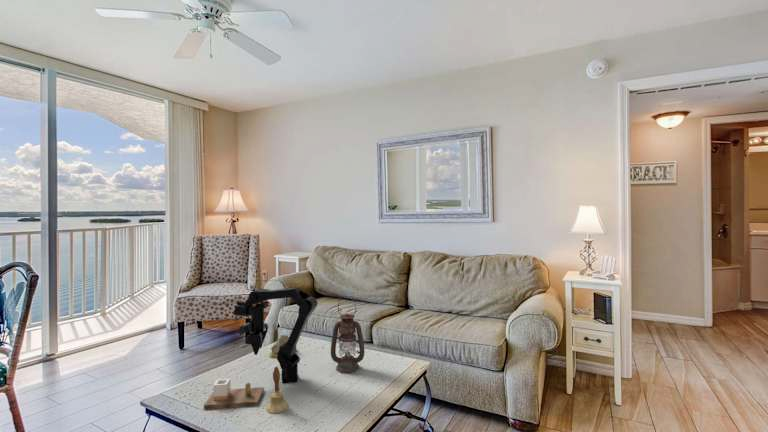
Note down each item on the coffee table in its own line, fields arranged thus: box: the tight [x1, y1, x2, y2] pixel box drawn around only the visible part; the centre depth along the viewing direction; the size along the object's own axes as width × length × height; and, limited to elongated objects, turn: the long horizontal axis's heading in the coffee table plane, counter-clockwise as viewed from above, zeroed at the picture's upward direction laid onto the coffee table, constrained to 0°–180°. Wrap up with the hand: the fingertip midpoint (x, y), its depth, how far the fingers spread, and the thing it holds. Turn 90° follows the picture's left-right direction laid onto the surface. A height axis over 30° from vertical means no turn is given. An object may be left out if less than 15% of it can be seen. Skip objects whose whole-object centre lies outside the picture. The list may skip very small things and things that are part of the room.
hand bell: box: [265, 366, 289, 415], centre depth 142 cm, size 8×8×16 cm
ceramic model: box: [268, 334, 289, 359], centre depth 197 cm, size 14×11×10 cm
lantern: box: [330, 295, 365, 374], centre depth 177 cm, size 11×16×35 cm
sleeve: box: [212, 378, 231, 400], centre depth 148 cm, size 5×5×6 cm
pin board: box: [203, 382, 265, 410], centre depth 149 cm, size 20×12×6 cm, turn 97°
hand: (258, 350), depth 169 cm, fingers open, 9 cm apart
